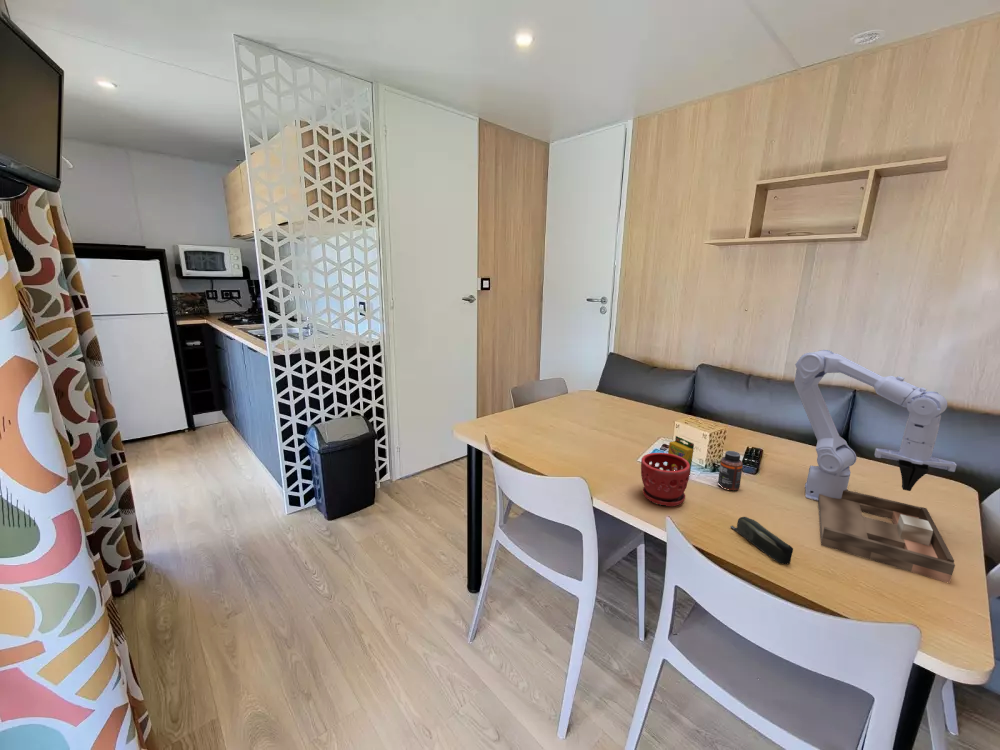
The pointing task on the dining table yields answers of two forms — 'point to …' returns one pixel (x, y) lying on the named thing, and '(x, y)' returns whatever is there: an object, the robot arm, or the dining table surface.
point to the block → (914, 529)
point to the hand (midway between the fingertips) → (906, 489)
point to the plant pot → (664, 478)
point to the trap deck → (882, 534)
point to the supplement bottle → (730, 471)
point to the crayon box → (681, 451)
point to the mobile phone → (764, 540)
